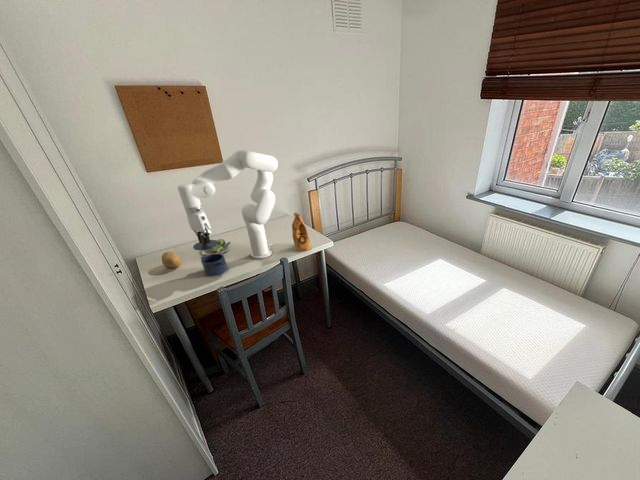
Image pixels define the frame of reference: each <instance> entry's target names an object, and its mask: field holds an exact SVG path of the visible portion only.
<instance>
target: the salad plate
mask: <svg viewBox="0 0 640 480" xmlns="http://www.w3.org/2000/svg"><path fill="white" fill-rule="evenodd" d="M215 240H216V241H218V245H217V246H216V247H214V248H211V249H208V250H201V253H202V255H203V256H208V255H211V254H222V255H224V254H225V253H226V252H228V251H229V250H230V249H231V246H230V245H231V243H232V242H231V241H228V242H227V241H226V240H224V239H223V238H219V239H215Z"/></svg>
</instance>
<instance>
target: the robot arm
mask: <svg viewBox="0 0 640 480" xmlns="http://www.w3.org/2000/svg"><path fill="white" fill-rule="evenodd" d="M278 167H279V162H278V160H277V158H275V156H273V155H270V154H265V153H259V152H255V151H252V150H246V149H238V150H237V151H236V152H233V153H232V155H230V156H228V157H227V158H226V159H225V160H223V161H222V162H220V163H219V164H217V165H215V166H213V167H211V168H209V169H207V170H205V171H204V172H203V171H202V172H201V174H198V176H197V177H195V178H194V179H193V180H192V181H191V183H190V182H186V183H181V184H179V185H178V186H177V190H178V193H179V196H180V200H181V202H182V205H183V208H184V211H185V213H186V217H187V221H188V225H189V227H190V229H191V230H192V231H193V232H194V233H195V236H196V237H197V241H198V242H199V243H202V242H201V239H200V236H199V234H201V233H202V235H203V240H204V243H205V244H209V243H210V242H211V241H210V240H211V238H210V234H211V233H212V231H211V230H212V227H211V223H210V222H209V219H208V216H207V214H206V212H205V211H204V209H203V205H202V203H201V200H200V199H201V198H210V197H213V196H214V195H215V194H216V187H215V186H214V185H216V184H217V183H219V182H223V181H229V180H232V179H234V178H235V177H236V176H238V175H239V174H240V173H241V172H242V171H244V170H245V169H251V170H256V173H257V177H256V181H255V183H254V185H253V188H252V190H251V193H250V199H251V200H252V202H253V203H255V204H253V203H248V204H245V205H244V206H243V207H242V209H241V217H242V219H243V221H244V224H245V227H246V230H247V234H248V239H249V243H250V247H251V252H250V257H251V258H252V259H255V260H257V259H258V260H259V259H265V258H268V257H269V256H271V255H272V253H273V251H272V250H271V248H272V247H274V244H273V243H272V242H271V243H268V240H267V236H266V230H265V227H264V225H265V224H266V223H267V222H268V221H269V219H270V217H271V214H272V213H273V209H274V207H275V204H276V195H275V193H274V192H273V191H272V190H271V188H272V186H273V185H272V184H273V182H274V175H273V173H274V172H275V171H276V170H277V169H278ZM204 233H205V234H204Z"/></svg>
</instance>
